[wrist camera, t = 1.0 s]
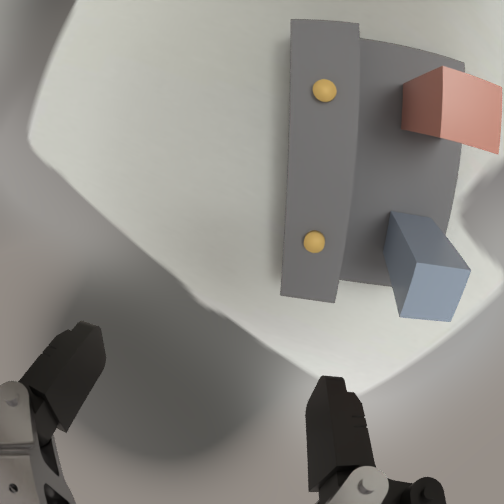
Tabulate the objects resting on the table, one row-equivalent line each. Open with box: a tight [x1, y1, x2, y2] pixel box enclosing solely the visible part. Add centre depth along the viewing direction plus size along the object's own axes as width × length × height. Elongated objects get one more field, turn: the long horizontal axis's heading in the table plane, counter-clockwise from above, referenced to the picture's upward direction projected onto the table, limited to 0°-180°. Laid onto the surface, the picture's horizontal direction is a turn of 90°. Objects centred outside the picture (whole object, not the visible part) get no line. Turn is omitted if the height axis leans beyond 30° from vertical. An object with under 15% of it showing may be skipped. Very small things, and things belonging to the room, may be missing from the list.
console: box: [280, 19, 465, 303], centre depth 26 cm, size 28×19×7 cm
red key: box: [401, 66, 502, 154], centre depth 18 cm, size 5×5×12 cm
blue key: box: [383, 211, 471, 322], centre depth 24 cm, size 5×5×12 cm
